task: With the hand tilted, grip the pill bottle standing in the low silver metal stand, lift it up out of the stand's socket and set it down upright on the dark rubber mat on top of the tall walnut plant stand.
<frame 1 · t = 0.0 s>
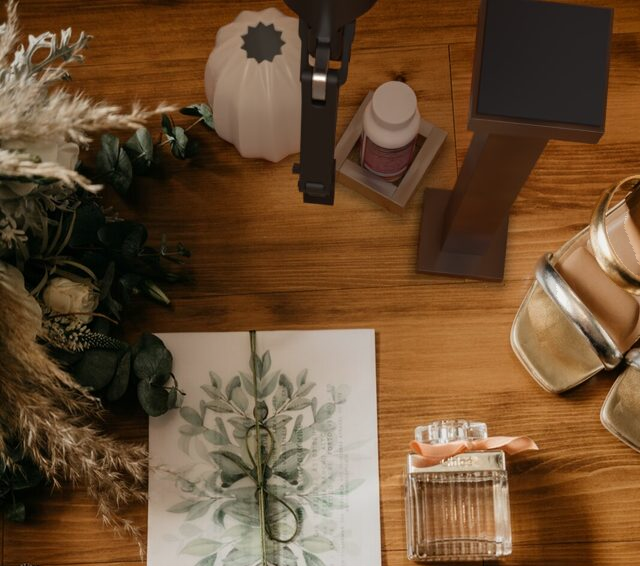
hand: (327, 128, 65), 20 cm above the table, tool pointing down, fingers open, 13 cm apart
stand: (384, 159, 85), on the table
pill bottle: (384, 160, 85), resting in stand
plant stand: (462, 237, 84), on the table
vase: (271, 120, 86), on the table
mat: (543, 62, 54), resting on plant stand
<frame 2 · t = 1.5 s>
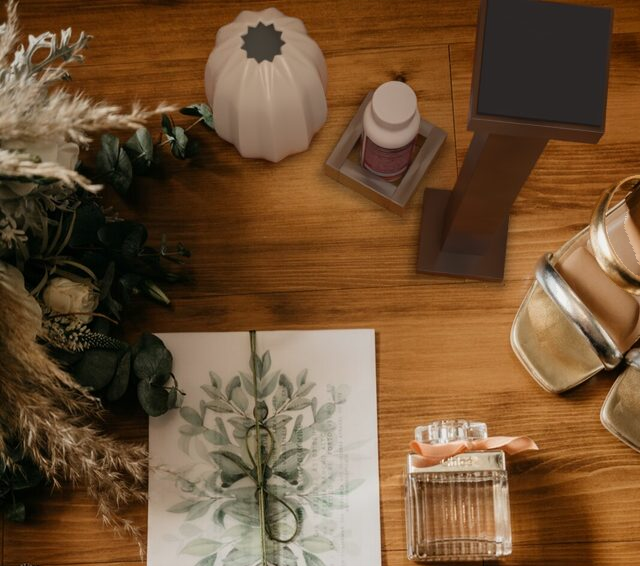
nothing on the table moved.
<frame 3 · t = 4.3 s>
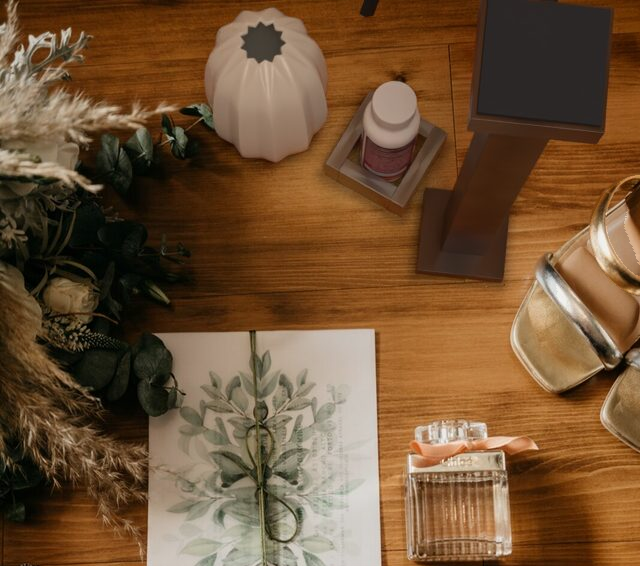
hand: (423, 47, 73), 12 cm above the table, tool tilted 45°, fingers open, 13 cm apart
nothing on the table moved.
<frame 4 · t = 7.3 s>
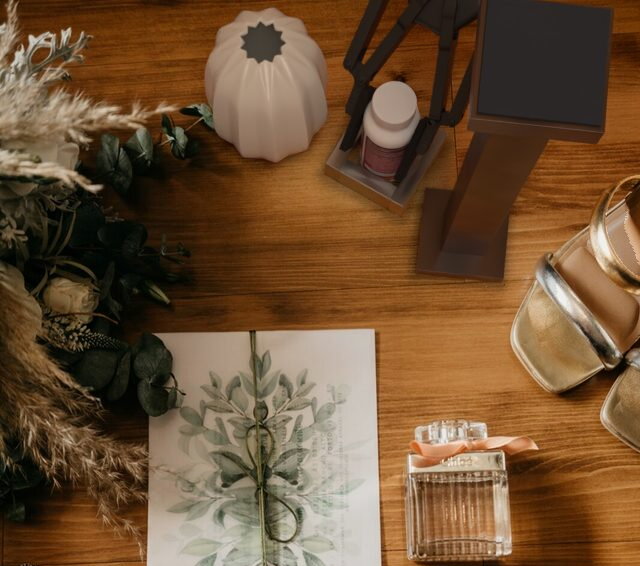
hand: (372, 162, 80), 5 cm above the table, tool tilted 45°, fingers closed on pill bottle, 6 cm apart
pill bottle: (384, 160, 85), resting in stand, touching gripper
everything else where it was.
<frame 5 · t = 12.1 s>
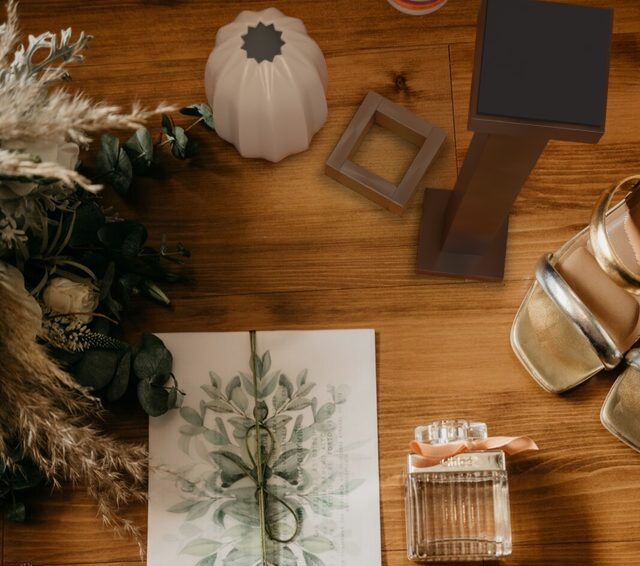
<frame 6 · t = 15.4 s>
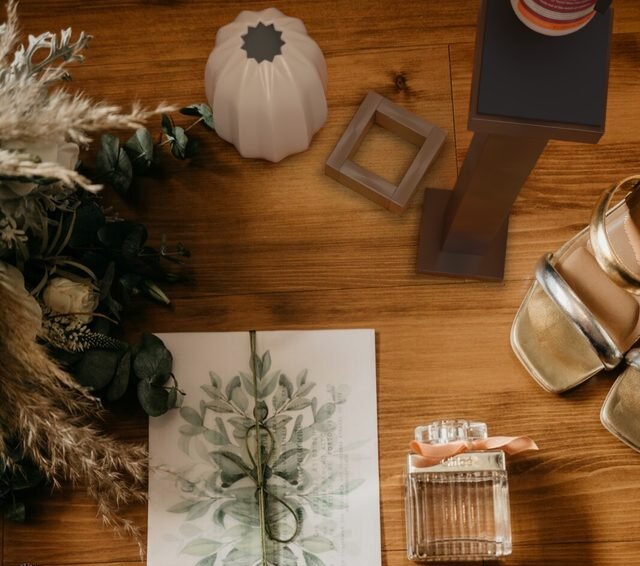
when the fingers open (36 cm above the table, at t = 17.4 s): pill bottle stays where it is, resting on mat.
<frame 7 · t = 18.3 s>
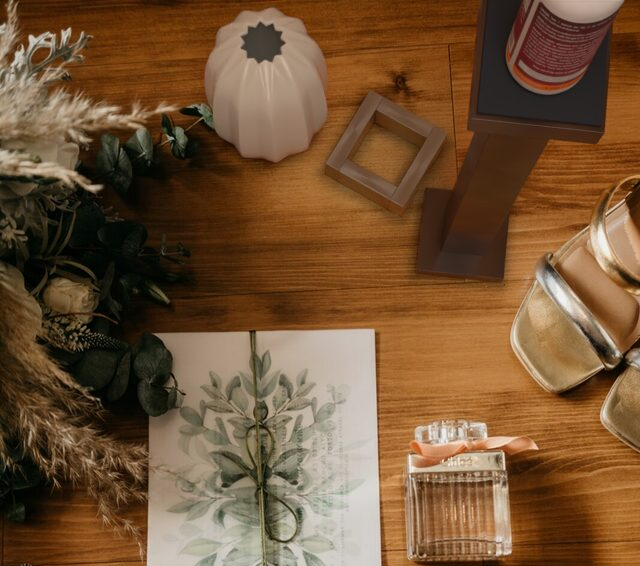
pill bottle: (544, 60, 54), point 31 cm above the table, touching mat
everything else where it was.
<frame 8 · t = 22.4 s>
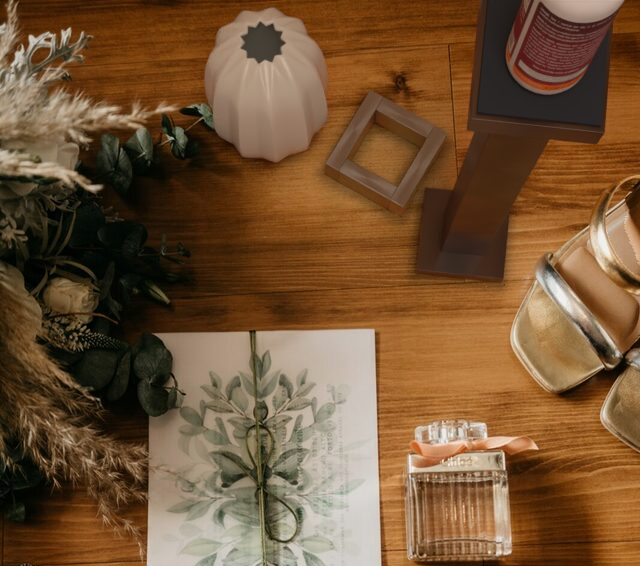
nothing on the table moved.
at the end: pill bottle 0.1 cm off-centre on the mat, point 0.1 cm above the mat's base; pill bottle tilted 0°; pill bottle touching mat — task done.
